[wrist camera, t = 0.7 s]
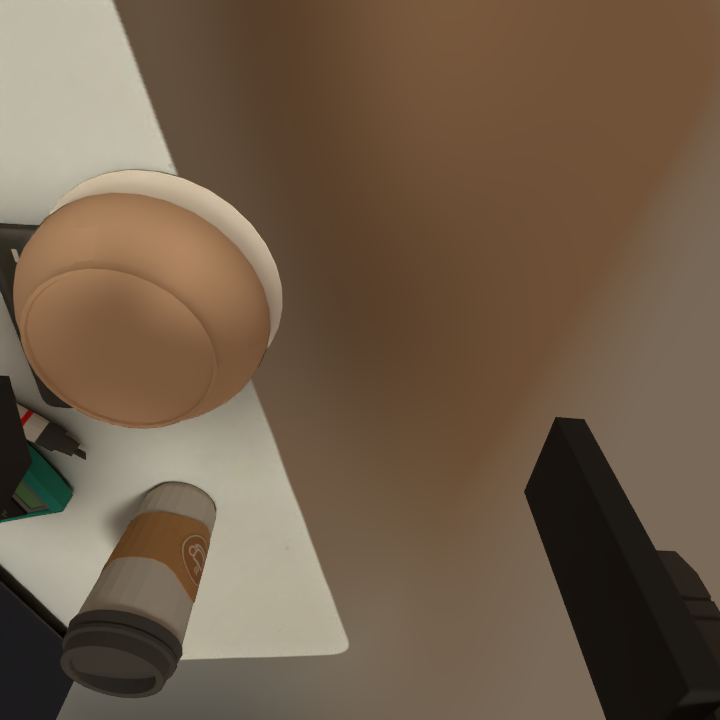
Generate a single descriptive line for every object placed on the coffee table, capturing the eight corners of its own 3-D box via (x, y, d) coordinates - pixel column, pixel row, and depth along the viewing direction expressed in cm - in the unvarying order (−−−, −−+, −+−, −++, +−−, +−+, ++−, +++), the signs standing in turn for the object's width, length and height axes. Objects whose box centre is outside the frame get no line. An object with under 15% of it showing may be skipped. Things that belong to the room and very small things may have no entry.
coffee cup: (241, 530, 54) (190, 700, 41) (160, 536, 55) (88, 702, 43) (209, 467, 49) (141, 639, 37) (121, 476, 50) (28, 644, 38)
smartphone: (96, 228, 36) (90, 233, 36) (142, 407, 45) (138, 414, 45) (-19, 221, 37) (-27, 226, 36) (49, 400, 46) (44, 407, 45)
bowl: (322, 351, 31) (332, 283, 38) (46, 146, 25) (114, 108, 32) (169, 495, 38) (199, 417, 45) (-75, 361, 32) (1, 294, 39)
